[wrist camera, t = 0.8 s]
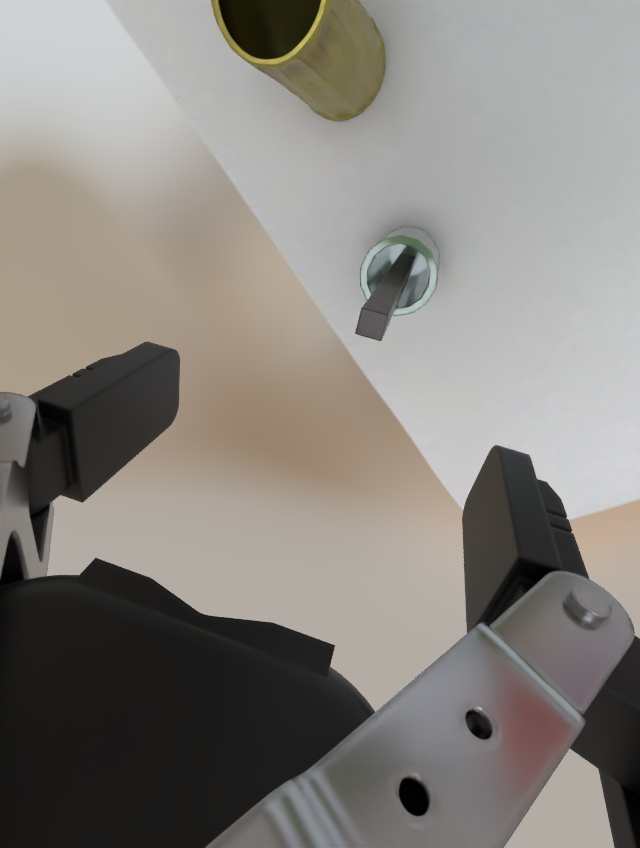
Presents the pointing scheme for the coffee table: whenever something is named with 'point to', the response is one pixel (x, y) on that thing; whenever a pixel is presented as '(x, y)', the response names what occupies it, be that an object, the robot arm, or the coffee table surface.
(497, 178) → the coffee table surface
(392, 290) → the stirring stick
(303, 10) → the vase
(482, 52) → the coffee table surface
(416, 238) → the holder
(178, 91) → the coffee table surface
